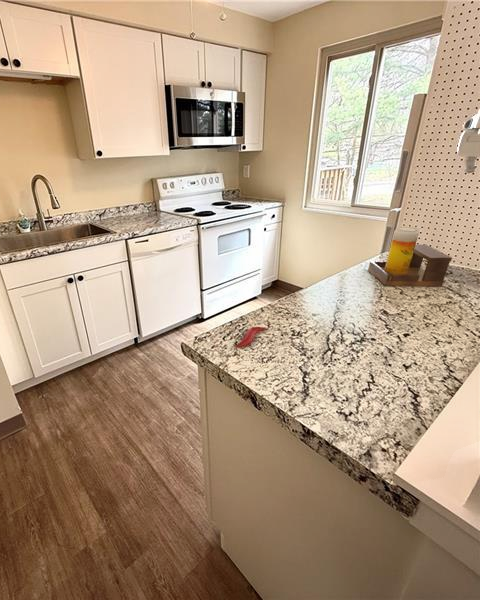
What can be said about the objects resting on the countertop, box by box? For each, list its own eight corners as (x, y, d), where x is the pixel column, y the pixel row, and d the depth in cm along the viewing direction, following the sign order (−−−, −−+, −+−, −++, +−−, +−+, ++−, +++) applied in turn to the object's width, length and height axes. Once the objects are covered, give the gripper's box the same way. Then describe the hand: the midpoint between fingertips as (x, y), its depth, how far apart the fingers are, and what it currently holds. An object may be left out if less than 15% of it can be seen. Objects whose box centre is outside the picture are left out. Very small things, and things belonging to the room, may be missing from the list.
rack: (418, 270, 107) (425, 244, 104) (442, 286, 95) (452, 257, 91) (367, 270, 111) (373, 245, 107) (385, 285, 99) (392, 258, 95)
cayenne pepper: (259, 326, 84) (259, 320, 83) (273, 333, 81) (273, 326, 80) (226, 341, 79) (226, 334, 78) (239, 349, 75) (239, 342, 75)
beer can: (405, 278, 99) (418, 231, 93) (382, 274, 103) (393, 230, 97) (407, 272, 103) (420, 227, 97) (385, 269, 107) (396, 226, 101)
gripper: (548, 114, 74) (523, 176, 79) (486, 120, 91) (469, 170, 97) (515, 117, 75) (493, 178, 81) (460, 123, 93) (445, 172, 99)
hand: (479, 174), depth 89 cm, fingers open, 8 cm apart
